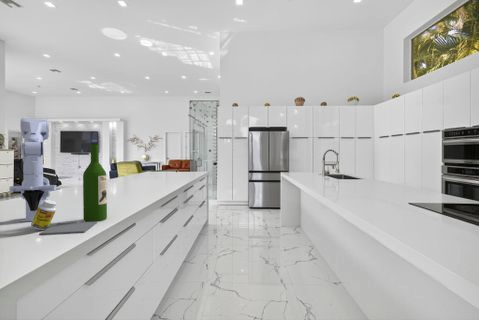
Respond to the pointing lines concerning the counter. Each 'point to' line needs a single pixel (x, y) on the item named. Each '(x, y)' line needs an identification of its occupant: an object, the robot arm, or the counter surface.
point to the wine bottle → (94, 189)
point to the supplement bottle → (44, 215)
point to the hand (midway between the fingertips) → (33, 210)
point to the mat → (68, 228)
